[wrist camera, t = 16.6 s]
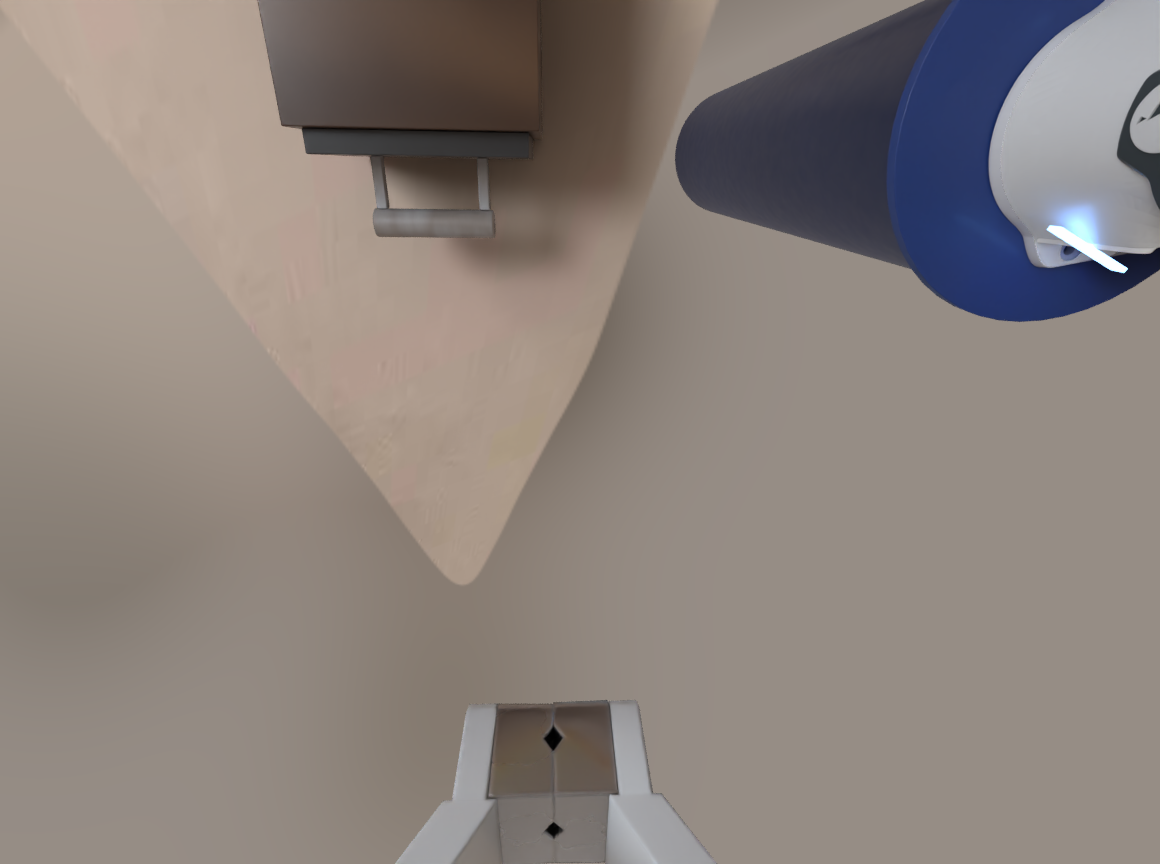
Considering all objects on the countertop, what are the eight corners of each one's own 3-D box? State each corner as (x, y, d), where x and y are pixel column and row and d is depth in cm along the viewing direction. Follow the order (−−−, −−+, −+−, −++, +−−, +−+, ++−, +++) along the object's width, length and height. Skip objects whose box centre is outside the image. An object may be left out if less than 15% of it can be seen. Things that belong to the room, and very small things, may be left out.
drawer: (534, 230, 38) (530, 244, 31) (365, 228, 38) (321, 242, 31) (528, -115, 31) (521, -200, 23) (314, -124, 30) (240, -214, 23)
